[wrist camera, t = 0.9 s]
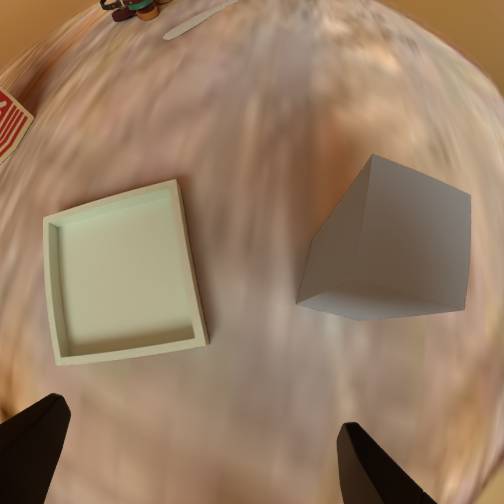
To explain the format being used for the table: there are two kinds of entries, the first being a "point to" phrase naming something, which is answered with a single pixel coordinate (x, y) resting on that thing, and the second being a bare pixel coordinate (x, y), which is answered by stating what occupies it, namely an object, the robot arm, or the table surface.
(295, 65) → the table surface
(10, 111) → the milk carton
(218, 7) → the butter knife
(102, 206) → the tray
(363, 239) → the post
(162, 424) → the table surface
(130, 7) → the binoculars
